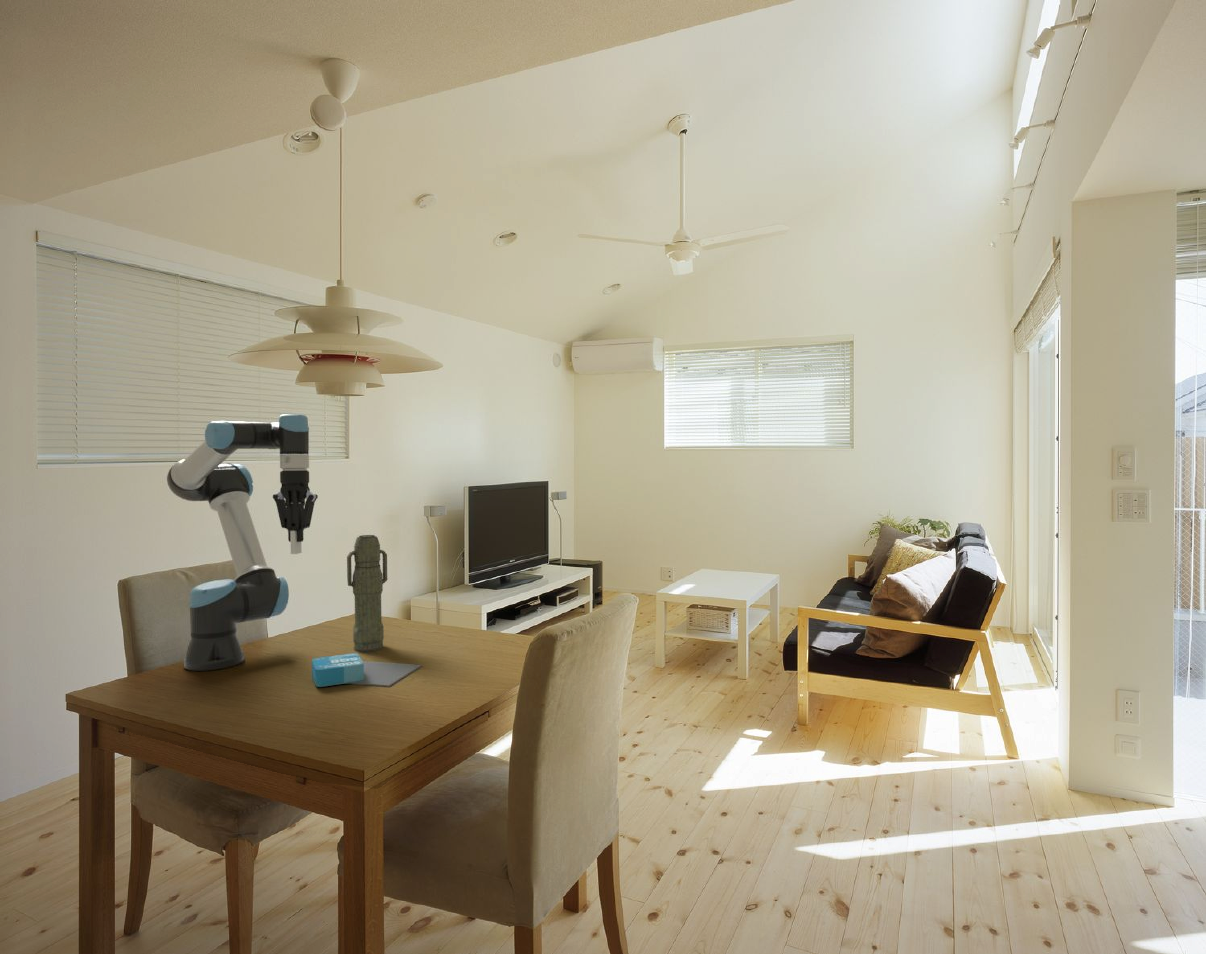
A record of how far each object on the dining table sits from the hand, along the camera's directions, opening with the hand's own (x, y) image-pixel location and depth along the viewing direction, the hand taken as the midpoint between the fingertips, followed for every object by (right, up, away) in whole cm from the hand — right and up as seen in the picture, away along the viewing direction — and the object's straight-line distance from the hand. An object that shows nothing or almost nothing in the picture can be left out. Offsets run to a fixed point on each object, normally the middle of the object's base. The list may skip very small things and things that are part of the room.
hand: (296, 553), depth 200 cm
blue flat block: (+13, -30, -4) cm, 33 cm away
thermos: (+14, -32, +21) cm, 40 cm away
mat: (+24, -33, -5) cm, 41 cm away
